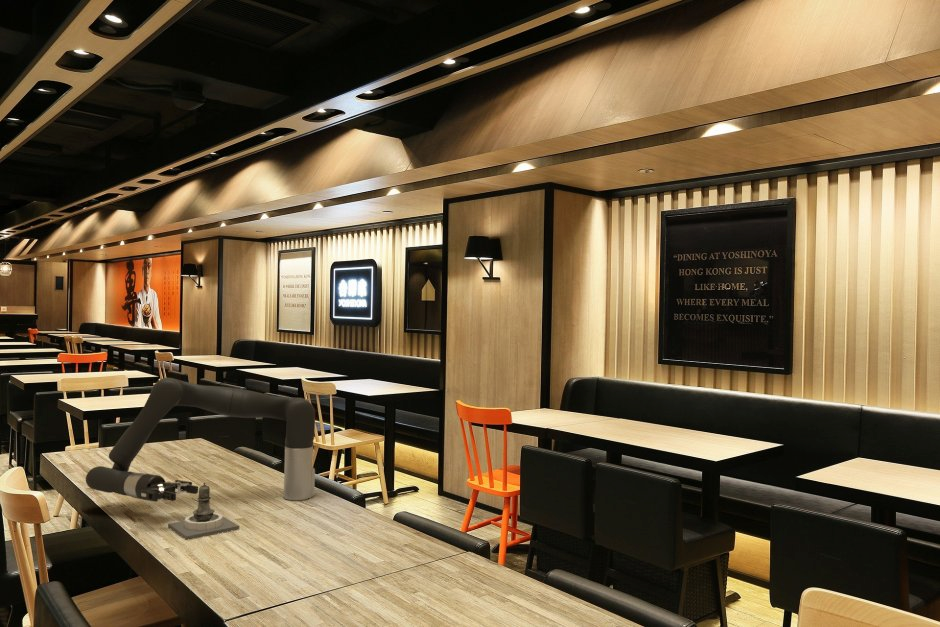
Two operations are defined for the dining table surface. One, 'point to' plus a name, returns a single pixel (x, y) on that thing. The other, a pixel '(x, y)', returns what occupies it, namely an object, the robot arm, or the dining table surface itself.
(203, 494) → the salt shaker
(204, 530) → the tray
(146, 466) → the dining table surface
